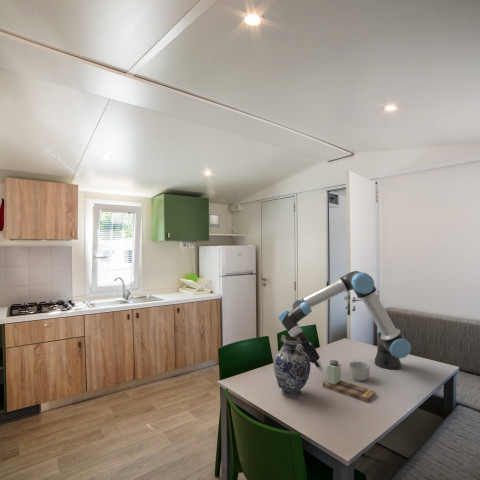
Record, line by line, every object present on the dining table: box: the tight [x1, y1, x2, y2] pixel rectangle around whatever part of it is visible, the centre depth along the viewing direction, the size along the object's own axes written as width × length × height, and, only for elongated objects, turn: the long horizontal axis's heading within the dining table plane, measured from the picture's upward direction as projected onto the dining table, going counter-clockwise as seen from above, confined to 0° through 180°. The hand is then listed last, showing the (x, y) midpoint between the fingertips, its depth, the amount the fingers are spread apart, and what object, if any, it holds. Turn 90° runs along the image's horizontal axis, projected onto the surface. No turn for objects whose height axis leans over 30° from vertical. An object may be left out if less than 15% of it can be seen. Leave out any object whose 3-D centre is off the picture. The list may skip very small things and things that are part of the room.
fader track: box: [322, 379, 377, 403], centre depth 163 cm, size 24×10×2 cm, turn 46°
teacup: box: [348, 360, 370, 382], centre depth 179 cm, size 14×11×8 cm
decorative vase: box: [273, 334, 311, 399], centre depth 161 cm, size 21×19×28 cm
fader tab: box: [327, 359, 342, 385], centre depth 168 cm, size 4×7×11 cm, turn 136°
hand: (323, 371), depth 173 cm, fingers closed
